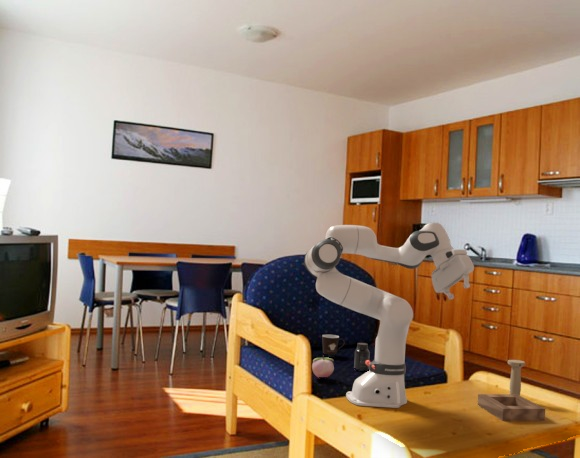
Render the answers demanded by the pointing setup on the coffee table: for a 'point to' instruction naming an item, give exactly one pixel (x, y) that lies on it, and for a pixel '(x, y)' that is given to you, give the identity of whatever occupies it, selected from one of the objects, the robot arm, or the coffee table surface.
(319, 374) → the decorative fruit
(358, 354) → the supplement bottle
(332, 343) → the coffee mug
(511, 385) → the beige bolt
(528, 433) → the coffee table surface
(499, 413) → the collar
